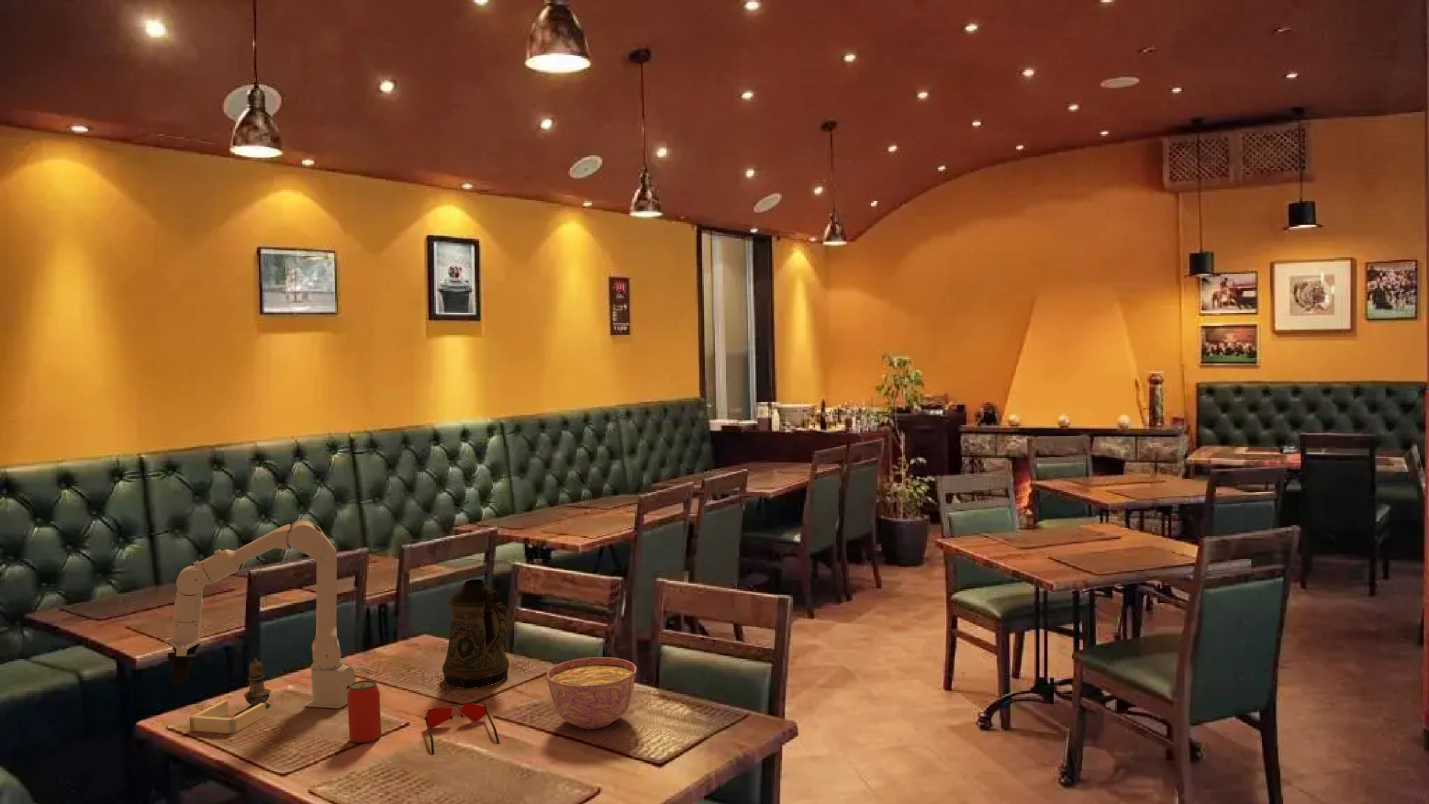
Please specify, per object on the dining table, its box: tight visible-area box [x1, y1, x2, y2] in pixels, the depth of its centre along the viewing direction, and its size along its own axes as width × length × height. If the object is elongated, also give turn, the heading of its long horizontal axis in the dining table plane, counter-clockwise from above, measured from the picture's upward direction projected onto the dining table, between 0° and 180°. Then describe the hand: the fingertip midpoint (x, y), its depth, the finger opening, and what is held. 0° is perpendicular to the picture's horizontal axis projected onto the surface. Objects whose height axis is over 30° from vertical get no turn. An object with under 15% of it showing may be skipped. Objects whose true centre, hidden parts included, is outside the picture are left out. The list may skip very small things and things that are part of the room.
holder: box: [188, 700, 267, 735], centre depth 232 cm, size 11×11×3 cm
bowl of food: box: [545, 656, 638, 730], centre depth 226 cm, size 20×20×12 cm
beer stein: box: [441, 578, 512, 689], centre depth 258 cm, size 16×19×25 cm
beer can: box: [347, 679, 382, 744], centre depth 220 cm, size 7×7×12 cm
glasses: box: [423, 701, 500, 756], centre depth 221 cm, size 14×16×5 cm
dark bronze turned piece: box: [243, 657, 272, 711], centre depth 242 cm, size 6×6×12 cm
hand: (180, 679), depth 232 cm, fingers open, 7 cm apart
